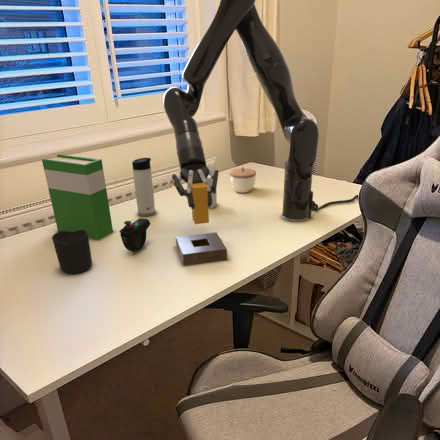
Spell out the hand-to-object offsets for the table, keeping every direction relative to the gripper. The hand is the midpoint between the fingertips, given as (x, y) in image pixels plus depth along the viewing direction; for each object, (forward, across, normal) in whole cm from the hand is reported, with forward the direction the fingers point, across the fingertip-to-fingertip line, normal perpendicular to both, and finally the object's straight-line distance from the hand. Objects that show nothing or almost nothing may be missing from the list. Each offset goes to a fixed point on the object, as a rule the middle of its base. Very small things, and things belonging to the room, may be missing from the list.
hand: (201, 206), depth 123 cm
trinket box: (-28, +28, +51) cm, 65 cm away
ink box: (-19, +9, +41) cm, 46 cm away
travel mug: (-18, -13, +40) cm, 45 cm away
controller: (+3, -19, +18) cm, 26 cm away
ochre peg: (+2, 0, +5) cm, 5 cm away
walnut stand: (+10, -1, +12) cm, 15 cm away
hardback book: (-10, -35, +32) cm, 48 cm away
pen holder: (+9, -37, +13) cm, 40 cm away
